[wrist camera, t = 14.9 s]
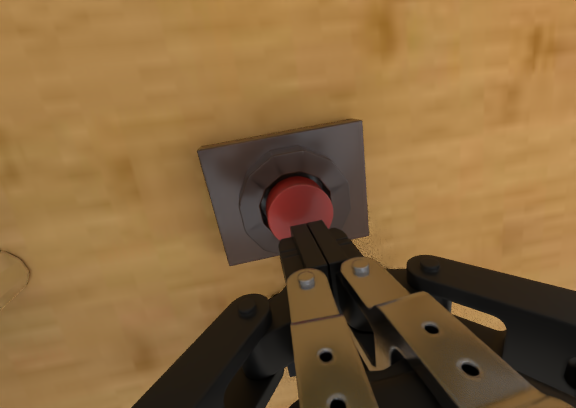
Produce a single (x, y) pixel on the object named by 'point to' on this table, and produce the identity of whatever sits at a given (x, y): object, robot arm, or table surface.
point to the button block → (274, 168)
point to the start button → (296, 205)
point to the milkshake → (11, 277)
